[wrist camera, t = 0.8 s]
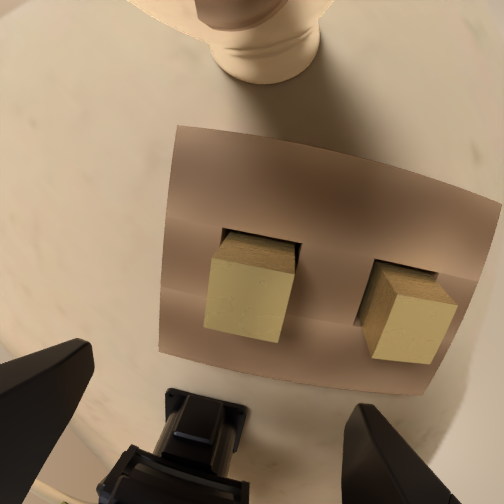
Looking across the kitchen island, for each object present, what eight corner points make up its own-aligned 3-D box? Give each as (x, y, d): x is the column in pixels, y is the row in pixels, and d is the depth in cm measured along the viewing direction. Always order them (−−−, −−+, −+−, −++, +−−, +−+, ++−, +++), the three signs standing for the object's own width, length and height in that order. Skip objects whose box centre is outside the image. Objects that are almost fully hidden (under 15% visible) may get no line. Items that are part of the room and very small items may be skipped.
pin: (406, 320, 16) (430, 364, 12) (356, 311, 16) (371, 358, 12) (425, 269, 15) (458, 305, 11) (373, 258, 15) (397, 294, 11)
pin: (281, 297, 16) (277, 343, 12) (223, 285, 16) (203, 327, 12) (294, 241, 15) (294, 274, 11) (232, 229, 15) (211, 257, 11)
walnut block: (406, 358, 20) (422, 395, 16) (180, 317, 21) (158, 351, 17) (466, 191, 16) (502, 204, 12) (201, 129, 17) (177, 125, 13)
